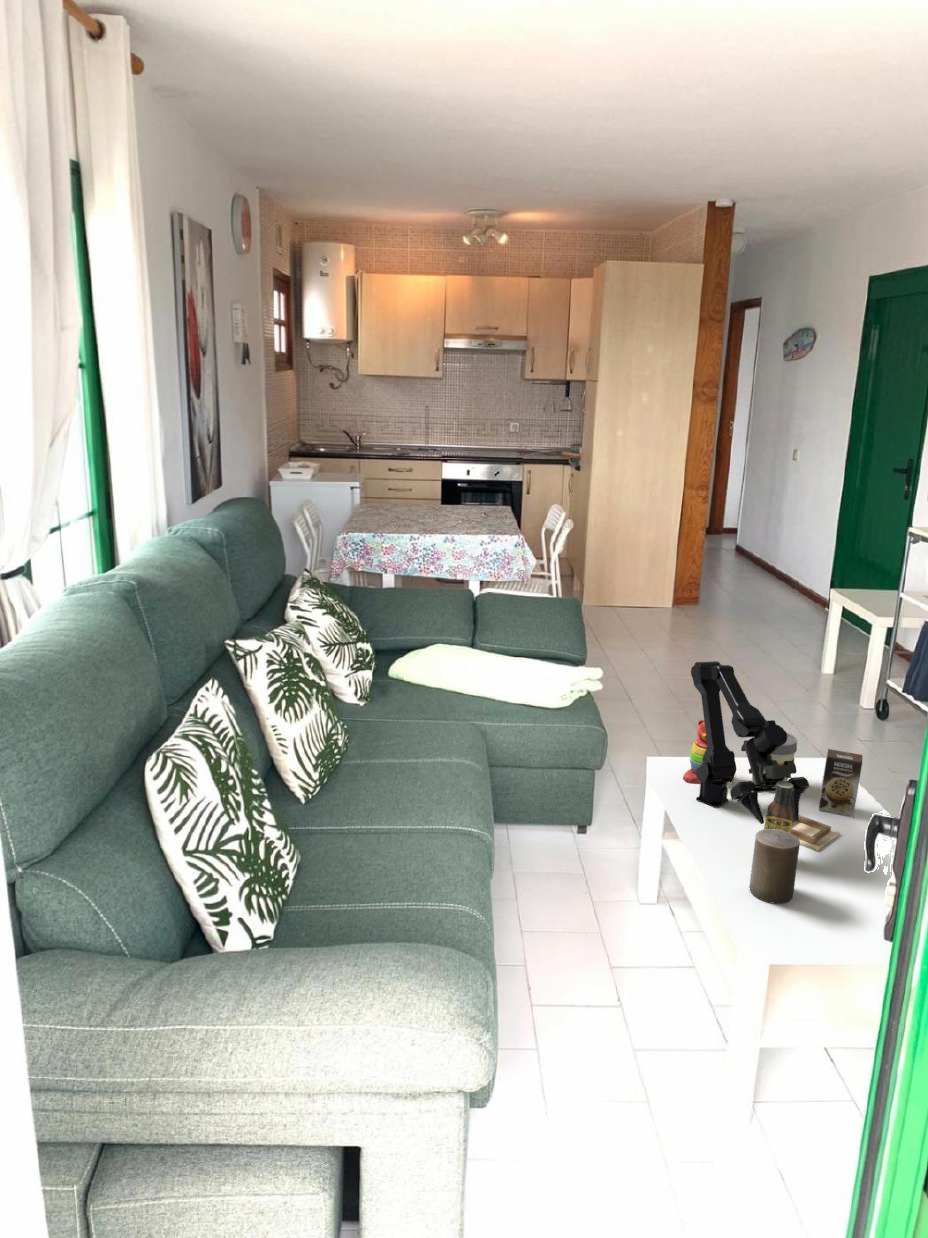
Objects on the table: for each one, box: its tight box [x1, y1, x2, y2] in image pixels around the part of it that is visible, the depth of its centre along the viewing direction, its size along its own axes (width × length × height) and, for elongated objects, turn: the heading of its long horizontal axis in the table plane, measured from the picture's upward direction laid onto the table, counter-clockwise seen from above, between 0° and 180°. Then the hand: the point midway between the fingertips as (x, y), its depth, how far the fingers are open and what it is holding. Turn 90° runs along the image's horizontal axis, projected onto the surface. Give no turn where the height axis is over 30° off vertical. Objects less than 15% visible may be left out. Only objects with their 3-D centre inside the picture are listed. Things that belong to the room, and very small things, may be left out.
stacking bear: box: [682, 719, 707, 785], centre depth 277 cm, size 11×10×18 cm
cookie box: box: [818, 748, 863, 818], centre depth 260 cm, size 9×6×16 cm
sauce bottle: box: [763, 781, 794, 833], centre depth 233 cm, size 6×6×20 cm
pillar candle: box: [748, 828, 801, 904], centre depth 218 cm, size 10×10×15 cm
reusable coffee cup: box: [751, 732, 798, 794], centre depth 274 cm, size 12×12×15 cm
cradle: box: [791, 814, 841, 852], centre depth 248 cm, size 14×13×2 cm
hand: (779, 822), depth 232 cm, fingers open, 9 cm apart
